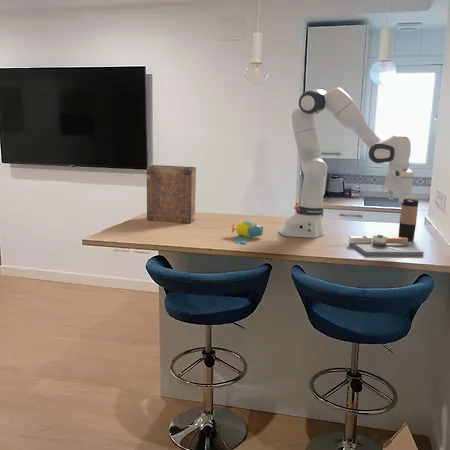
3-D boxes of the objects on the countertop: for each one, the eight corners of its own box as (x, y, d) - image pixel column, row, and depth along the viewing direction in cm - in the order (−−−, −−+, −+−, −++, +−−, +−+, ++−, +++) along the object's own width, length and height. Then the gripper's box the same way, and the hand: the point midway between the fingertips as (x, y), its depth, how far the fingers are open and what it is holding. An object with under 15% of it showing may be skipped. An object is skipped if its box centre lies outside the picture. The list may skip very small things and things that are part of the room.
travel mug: (395, 237, 241) (399, 198, 237) (409, 238, 242) (414, 199, 238) (401, 241, 234) (406, 201, 230) (416, 241, 234) (421, 201, 230)
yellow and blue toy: (235, 214, 245) (264, 217, 243) (234, 231, 247) (263, 233, 245) (228, 225, 218) (261, 228, 216) (227, 244, 220) (260, 247, 218)
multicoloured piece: (375, 246, 214) (376, 236, 213) (370, 242, 220) (371, 233, 219) (409, 246, 216) (410, 236, 215) (403, 243, 222) (404, 233, 221)
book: (146, 220, 264) (146, 166, 257) (151, 217, 272) (151, 164, 266) (190, 223, 259) (191, 168, 253) (194, 220, 268) (195, 167, 262)
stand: (363, 256, 205) (364, 245, 204) (347, 244, 224) (348, 234, 223) (423, 256, 208) (424, 246, 207) (401, 244, 227) (402, 235, 226)
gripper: (382, 169, 228) (379, 197, 231) (402, 173, 208) (399, 204, 211) (394, 169, 229) (392, 197, 232) (416, 173, 209) (413, 204, 212)
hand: (396, 201), depth 221 cm, fingers open, 8 cm apart
